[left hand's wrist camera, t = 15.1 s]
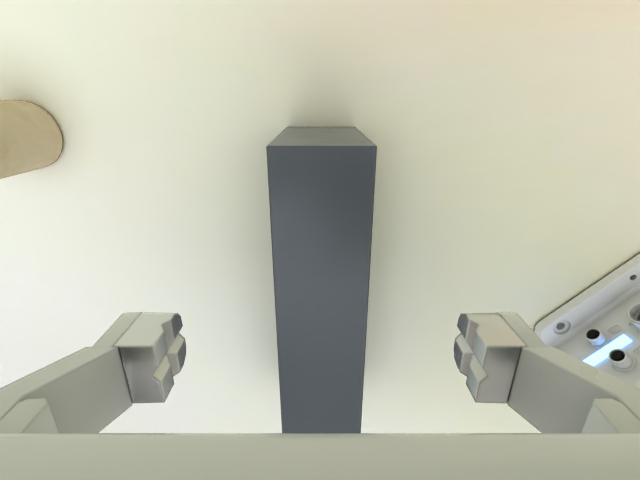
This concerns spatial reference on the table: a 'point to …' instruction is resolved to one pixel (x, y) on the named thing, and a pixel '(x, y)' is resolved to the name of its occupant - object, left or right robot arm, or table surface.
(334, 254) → the box
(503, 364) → the left robot arm
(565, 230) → the table surface
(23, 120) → the candle
